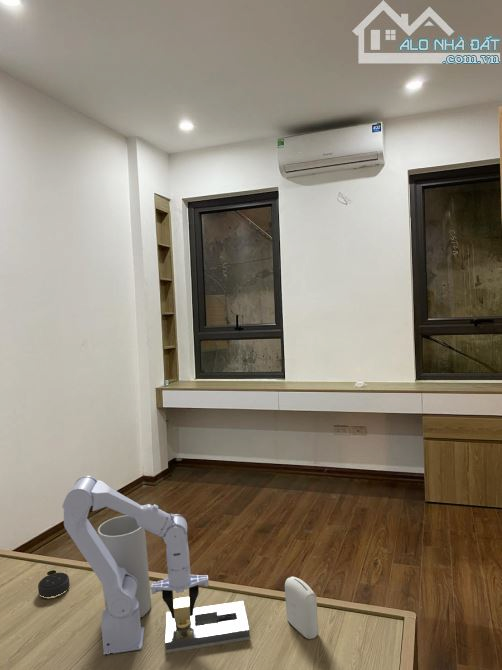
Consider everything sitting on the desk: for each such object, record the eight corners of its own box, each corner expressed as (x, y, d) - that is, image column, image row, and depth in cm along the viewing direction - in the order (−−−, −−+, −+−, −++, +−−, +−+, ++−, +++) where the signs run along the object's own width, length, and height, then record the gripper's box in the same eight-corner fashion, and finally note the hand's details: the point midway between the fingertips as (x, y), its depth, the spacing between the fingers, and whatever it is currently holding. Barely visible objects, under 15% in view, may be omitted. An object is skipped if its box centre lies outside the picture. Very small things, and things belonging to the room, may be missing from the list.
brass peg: (175, 630, 125) (173, 608, 125) (175, 620, 129) (173, 599, 129) (191, 628, 126) (189, 606, 125) (190, 617, 130) (189, 596, 129)
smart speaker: (40, 587, 153) (39, 575, 153) (70, 580, 156) (69, 568, 156) (37, 603, 145) (36, 591, 145) (69, 596, 148) (68, 583, 147)
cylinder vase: (97, 622, 134) (89, 535, 132) (120, 595, 146) (112, 514, 144) (139, 627, 131) (131, 537, 129) (158, 598, 143) (151, 516, 141)
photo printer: (284, 619, 130) (281, 575, 129) (297, 613, 133) (295, 570, 132) (307, 642, 122) (304, 595, 121) (321, 635, 124) (318, 588, 123)
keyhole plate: (165, 653, 121) (165, 642, 121) (167, 621, 133) (166, 612, 133) (249, 639, 124) (249, 629, 124) (244, 609, 136) (243, 600, 135)
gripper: (148, 577, 121) (153, 629, 122) (207, 569, 123) (211, 620, 124) (150, 562, 128) (154, 611, 129) (206, 554, 130) (209, 603, 131)
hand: (182, 614), depth 127 cm, fingers closed on brass peg, 4 cm apart
